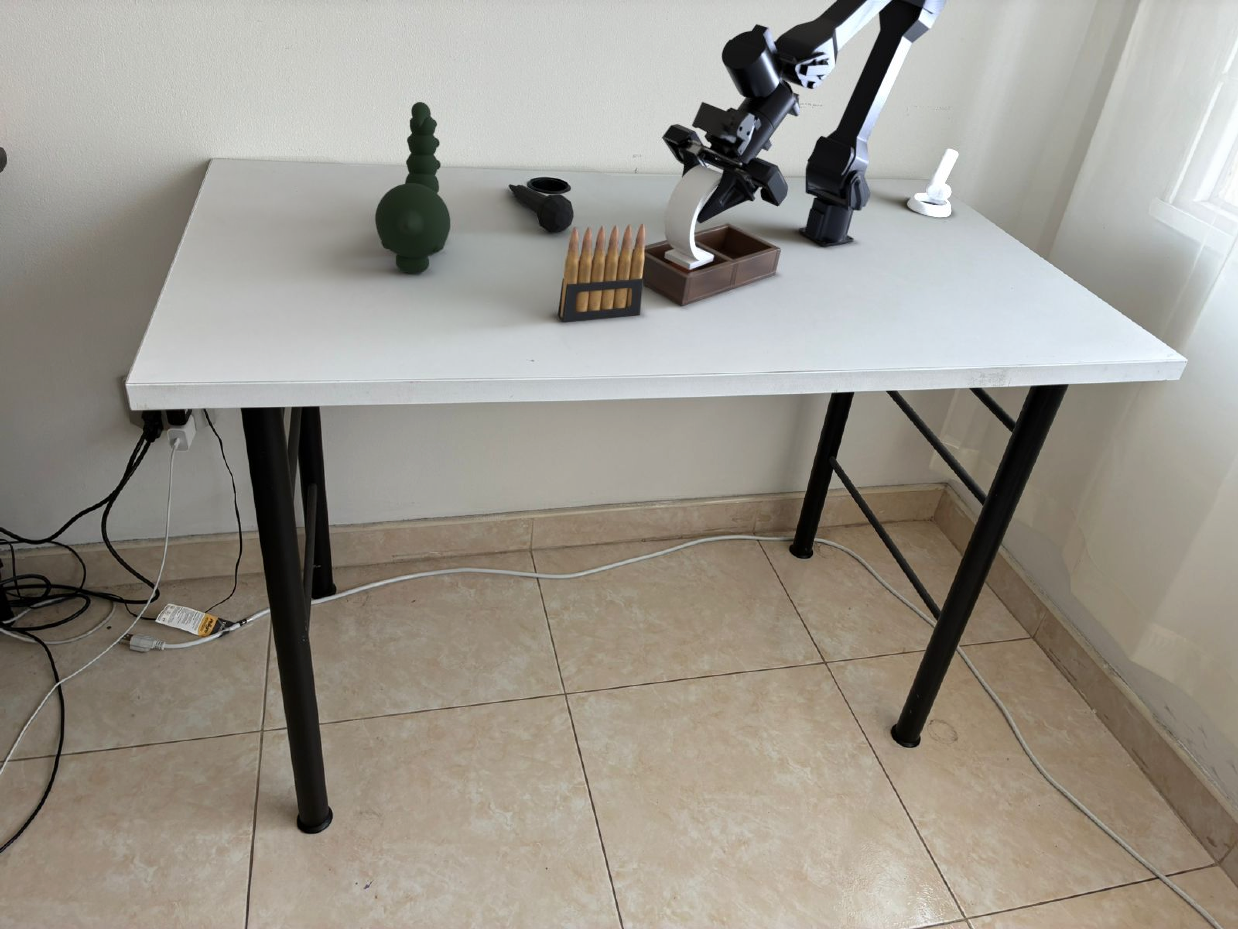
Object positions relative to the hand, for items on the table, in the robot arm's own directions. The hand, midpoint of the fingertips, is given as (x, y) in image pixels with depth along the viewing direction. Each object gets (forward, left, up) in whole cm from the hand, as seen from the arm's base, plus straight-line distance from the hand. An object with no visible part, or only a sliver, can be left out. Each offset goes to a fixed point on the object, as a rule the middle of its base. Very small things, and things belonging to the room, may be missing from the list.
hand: (686, 215), depth 124 cm
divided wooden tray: (-6, -1, -10) cm, 12 cm away
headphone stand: (-1, 0, -7) cm, 7 cm away
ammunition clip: (+15, +4, -10) cm, 18 cm away
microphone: (+6, -28, -10) cm, 30 cm away
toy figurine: (+29, -21, -10) cm, 37 cm away
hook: (-63, -10, -10) cm, 65 cm away
